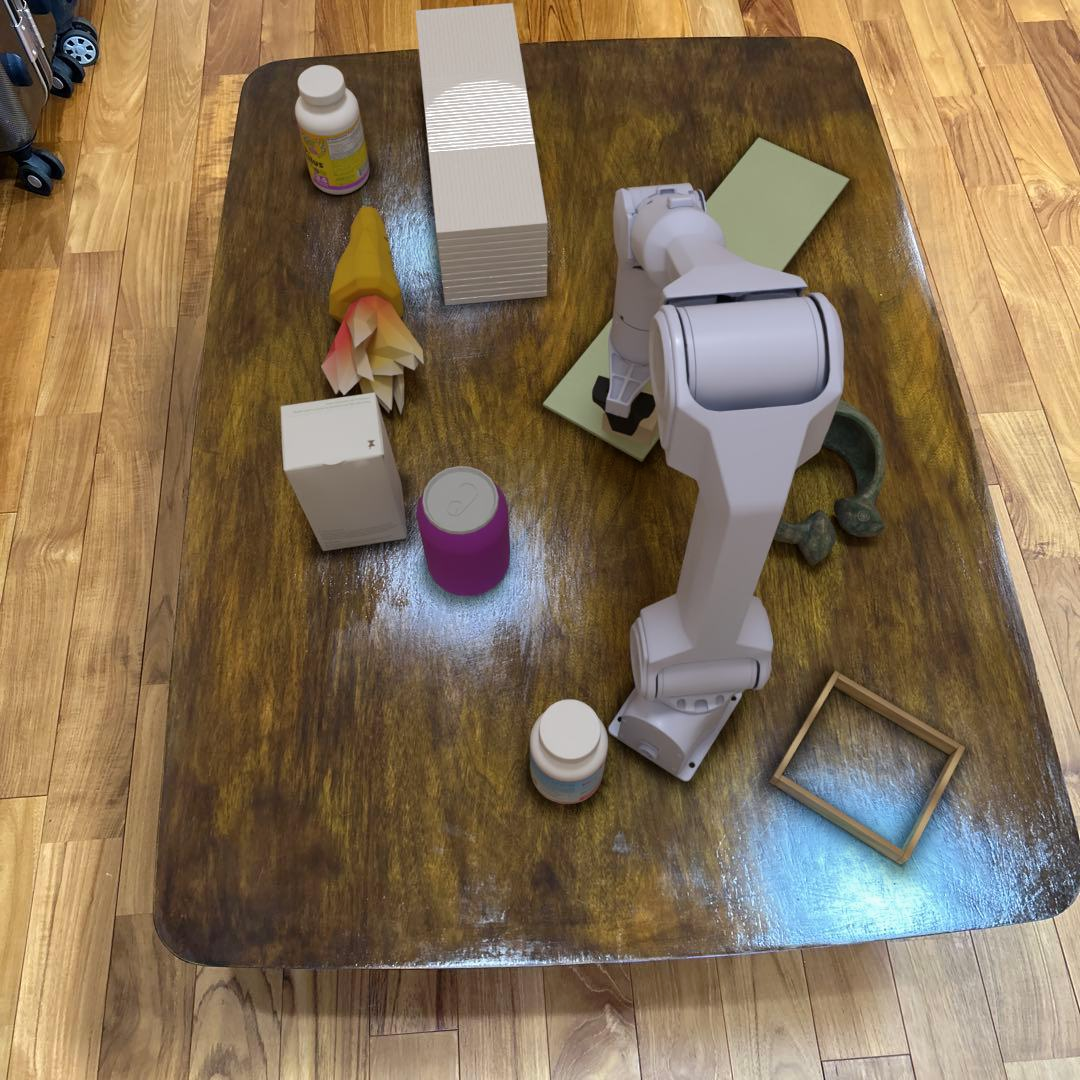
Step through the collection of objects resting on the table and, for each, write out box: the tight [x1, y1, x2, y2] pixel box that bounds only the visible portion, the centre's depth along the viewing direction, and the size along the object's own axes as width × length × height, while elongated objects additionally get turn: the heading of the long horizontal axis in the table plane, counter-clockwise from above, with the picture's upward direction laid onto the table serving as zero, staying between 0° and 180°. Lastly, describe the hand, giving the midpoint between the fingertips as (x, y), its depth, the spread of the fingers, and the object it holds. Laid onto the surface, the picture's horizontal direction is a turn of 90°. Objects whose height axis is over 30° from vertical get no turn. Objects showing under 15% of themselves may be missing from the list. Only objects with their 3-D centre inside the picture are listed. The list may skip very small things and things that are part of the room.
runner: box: [542, 137, 850, 463], centre depth 113 cm, size 44×12×1 cm, turn 146°
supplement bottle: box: [294, 64, 371, 196], centre depth 115 cm, size 7×7×13 cm
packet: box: [602, 390, 658, 447], centre depth 104 cm, size 4×5×3 cm
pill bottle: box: [529, 698, 609, 805], centre depth 85 cm, size 6×6×11 cm
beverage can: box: [415, 465, 511, 597], centre depth 93 cm, size 8×8×12 cm
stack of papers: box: [414, 2, 549, 307], centre depth 115 cm, size 32×11×11 cm, turn 7°
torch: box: [320, 205, 425, 415], centre depth 108 cm, size 8×8×25 cm
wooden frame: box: [768, 670, 966, 866], centre depth 89 cm, size 11×12×2 cm
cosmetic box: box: [280, 392, 408, 552], centre depth 94 cm, size 8×7×16 cm
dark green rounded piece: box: [773, 399, 887, 566], centre depth 97 cm, size 15×15×10 cm
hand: (635, 398), depth 101 cm, fingers open, 7 cm apart
